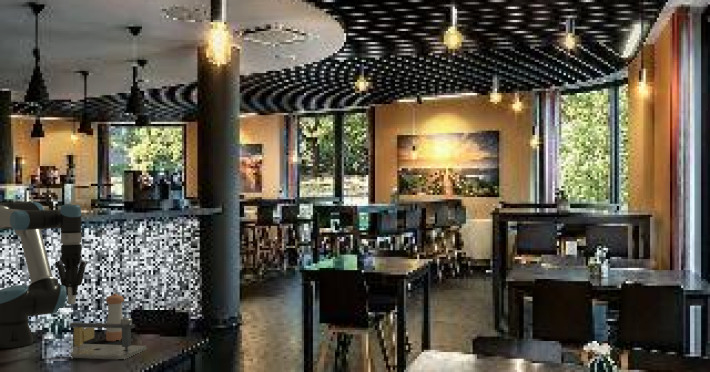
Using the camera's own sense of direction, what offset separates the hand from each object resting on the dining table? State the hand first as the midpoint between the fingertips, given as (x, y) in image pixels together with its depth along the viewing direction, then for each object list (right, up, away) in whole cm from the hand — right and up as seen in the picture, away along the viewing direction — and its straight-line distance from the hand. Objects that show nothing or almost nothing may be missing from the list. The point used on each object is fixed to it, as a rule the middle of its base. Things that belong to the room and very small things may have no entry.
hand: (71, 303), depth 265 cm
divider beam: (+16, -15, -9) cm, 24 cm away
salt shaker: (+12, -18, +16) cm, 27 cm away
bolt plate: (+16, -17, -9) cm, 25 cm away
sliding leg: (+6, -16, -4) cm, 17 cm away
